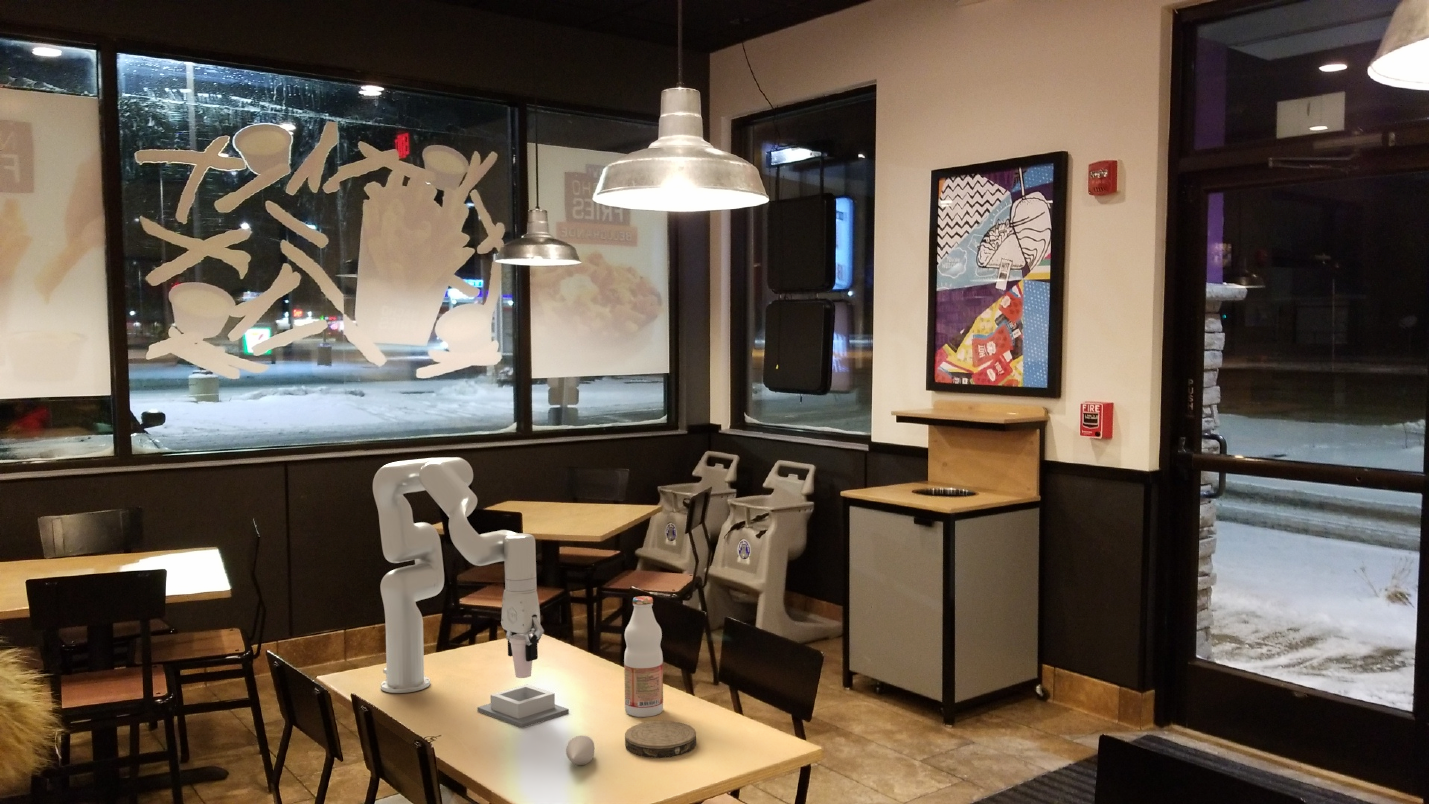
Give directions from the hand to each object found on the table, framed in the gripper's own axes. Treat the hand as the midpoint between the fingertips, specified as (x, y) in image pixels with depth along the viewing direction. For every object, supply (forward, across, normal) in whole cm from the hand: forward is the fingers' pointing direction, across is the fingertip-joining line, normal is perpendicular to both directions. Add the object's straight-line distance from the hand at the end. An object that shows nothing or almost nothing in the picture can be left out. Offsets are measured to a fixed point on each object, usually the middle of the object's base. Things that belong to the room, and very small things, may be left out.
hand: (522, 657), depth 262 cm
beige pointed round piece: (+14, +37, -13) cm, 41 cm away
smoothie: (+5, 0, 0) cm, 5 cm away
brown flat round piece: (+15, +40, +7) cm, 44 cm away
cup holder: (+14, 0, 0) cm, 14 cm away
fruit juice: (+14, +22, +20) cm, 33 cm away
